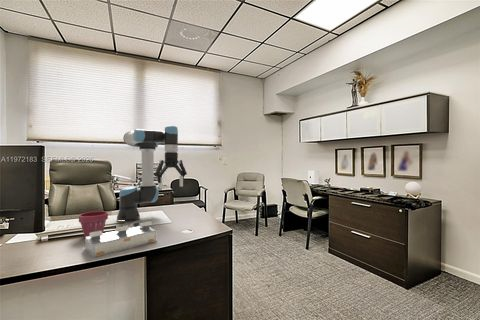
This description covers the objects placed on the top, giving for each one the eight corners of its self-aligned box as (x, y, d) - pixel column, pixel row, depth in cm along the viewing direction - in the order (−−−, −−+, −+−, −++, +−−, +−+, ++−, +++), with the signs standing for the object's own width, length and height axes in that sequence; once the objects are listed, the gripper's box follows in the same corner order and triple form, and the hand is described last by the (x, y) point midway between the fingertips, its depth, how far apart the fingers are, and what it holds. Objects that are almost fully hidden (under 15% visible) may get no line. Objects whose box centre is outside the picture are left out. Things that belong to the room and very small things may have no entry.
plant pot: (106, 230, 146) (106, 209, 145) (109, 236, 134) (109, 214, 134) (78, 234, 137) (78, 212, 137) (79, 241, 126) (79, 217, 126)
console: (85, 248, 116) (85, 234, 116) (145, 234, 137) (145, 222, 137) (92, 258, 105) (92, 241, 105) (156, 241, 126) (156, 228, 126)
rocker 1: (89, 236, 114) (89, 232, 115) (98, 235, 117) (97, 230, 117) (93, 236, 109) (93, 231, 109) (102, 234, 111) (102, 229, 111)
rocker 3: (139, 226, 131) (139, 222, 131) (146, 225, 133) (145, 221, 134) (145, 226, 125) (144, 221, 126) (151, 224, 128) (151, 220, 128)
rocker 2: (116, 231, 123) (116, 227, 123) (123, 230, 125) (123, 225, 125) (121, 231, 117) (120, 226, 117) (128, 229, 119) (128, 224, 120)
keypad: (131, 228, 138) (129, 222, 151) (131, 235, 138) (129, 228, 151) (148, 226, 142) (145, 220, 156) (148, 232, 142) (145, 226, 156)
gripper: (154, 151, 129) (154, 190, 129) (192, 152, 147) (192, 186, 147) (148, 151, 134) (148, 188, 134) (185, 152, 152) (185, 185, 152)
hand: (171, 187), depth 140 cm, fingers open, 13 cm apart
